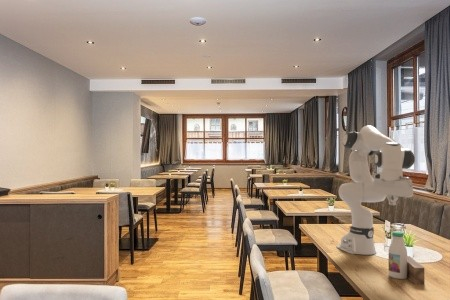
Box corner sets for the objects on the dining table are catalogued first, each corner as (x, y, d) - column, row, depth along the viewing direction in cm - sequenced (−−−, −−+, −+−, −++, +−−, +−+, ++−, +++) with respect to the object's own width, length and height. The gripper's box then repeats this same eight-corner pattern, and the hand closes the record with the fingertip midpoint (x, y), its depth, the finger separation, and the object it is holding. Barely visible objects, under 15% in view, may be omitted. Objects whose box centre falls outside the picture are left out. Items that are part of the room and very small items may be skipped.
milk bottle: (401, 273, 170) (401, 230, 171) (411, 279, 163) (410, 234, 163) (385, 274, 170) (385, 230, 170) (394, 279, 162) (394, 234, 162)
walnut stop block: (414, 284, 157) (414, 267, 157) (400, 270, 175) (400, 255, 175) (424, 284, 156) (424, 268, 156) (409, 271, 174) (409, 256, 174)
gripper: (416, 177, 168) (416, 207, 168) (379, 174, 187) (380, 201, 187) (407, 177, 166) (407, 208, 166) (370, 174, 184) (371, 202, 184)
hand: (392, 204), depth 176 cm, fingers closed
